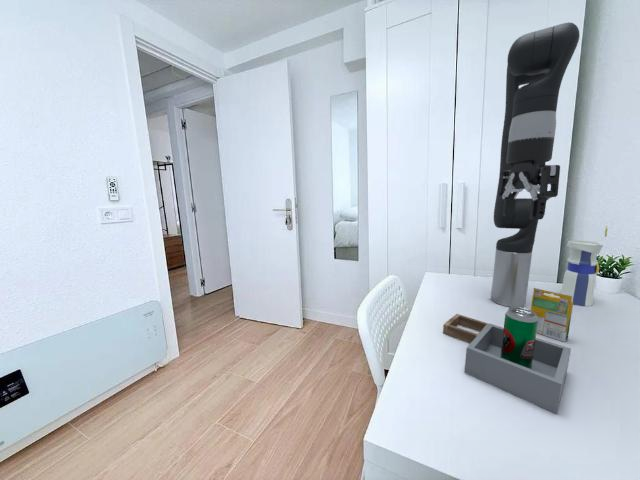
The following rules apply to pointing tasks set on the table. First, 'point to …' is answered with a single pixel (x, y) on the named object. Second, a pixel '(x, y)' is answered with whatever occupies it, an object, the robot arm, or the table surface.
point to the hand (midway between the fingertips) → (521, 217)
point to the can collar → (462, 334)
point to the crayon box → (552, 313)
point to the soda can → (519, 336)
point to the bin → (520, 368)
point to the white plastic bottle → (581, 271)
